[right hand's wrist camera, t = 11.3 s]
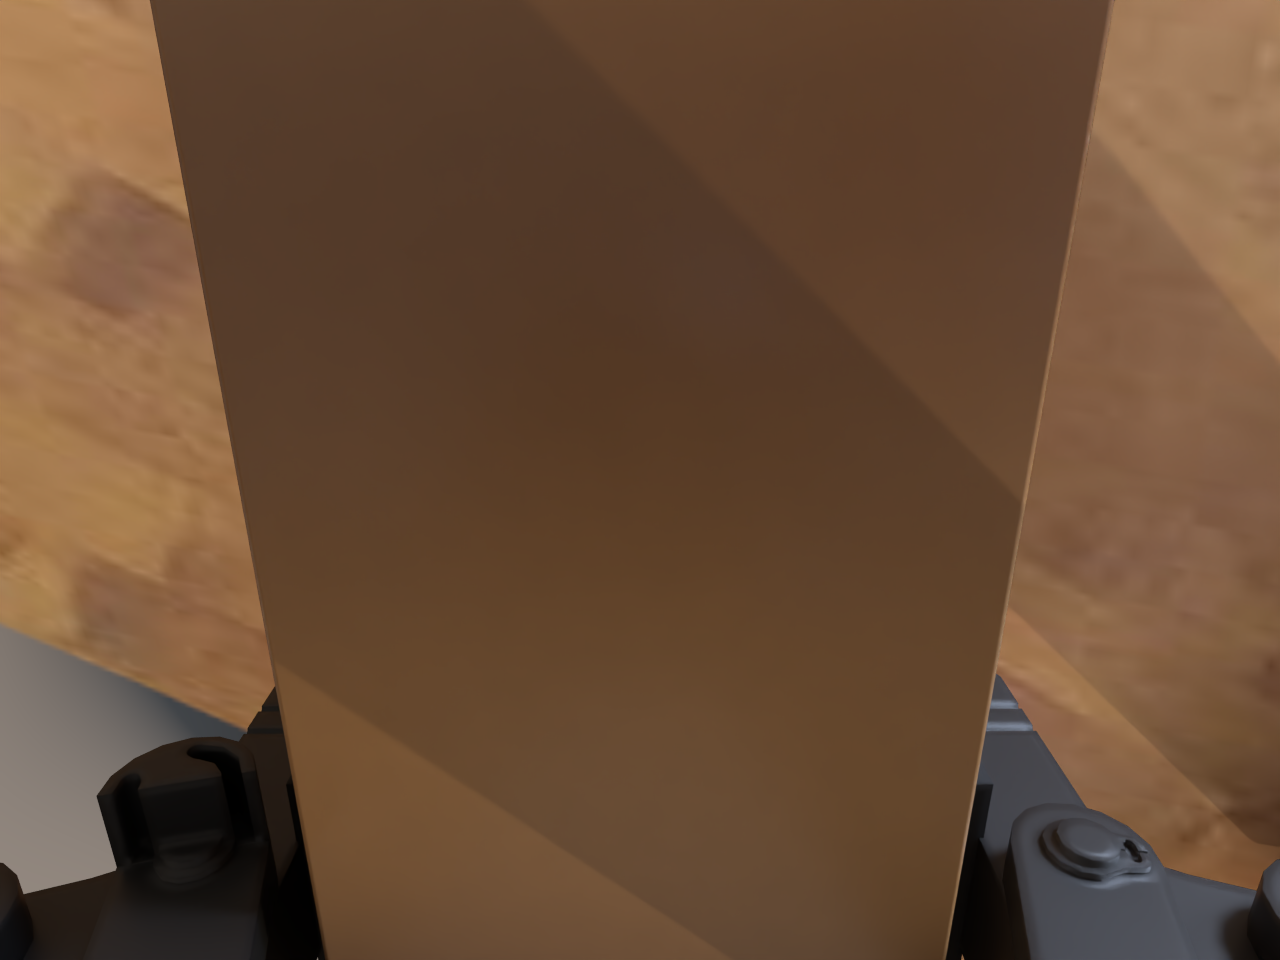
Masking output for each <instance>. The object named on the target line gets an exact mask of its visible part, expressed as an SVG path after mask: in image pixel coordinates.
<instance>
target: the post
mask: <svg viewBox="0 0 1280 960" xmlns="http://www.w3.org/2000/svg"><path fill="white" fill-rule="evenodd" d="M1114 1H1115V0H150V3H151V9H152V14H153V20H154V25H155V31H156V36H157V42H158V47H159V53H160V58H161V63H162V69H163V74H164V80H165V85H166V91H167V96H168V102H169V107H170V113H171V118H172V124H173V129H174V135H175V140H176V145H177V151H178V156H179V162H180V167H181V173H182V178H183V184H184V189H185V195H186V200H187V206H188V211H189V217H190V222H191V228H192V233H193V238H194V244H195V249H196V255H197V260H198V266H199V271H200V277H201V282H202V288H203V293H204V299H205V304H206V310H207V315H208V320H209V326H210V331H211V337H212V342H213V348H214V353H215V359H216V364H217V370H218V375H219V381H220V386H221V392H222V397H223V402H224V408H225V413H226V419H227V424H228V430H229V435H230V441H231V446H232V452H233V457H234V463H235V468H236V474H237V479H238V485H239V490H240V495H241V501H242V506H243V512H244V517H245V523H246V528H247V534H248V539H249V545H250V550H251V556H252V561H253V567H254V572H255V577H256V583H257V588H258V594H259V599H260V605H261V610H262V616H263V621H264V627H265V632H266V638H267V643H268V649H269V654H270V660H271V665H272V670H273V676H274V681H275V687H276V692H277V698H278V703H279V709H280V714H281V720H282V725H283V731H284V736H285V742H286V747H287V752H288V758H289V763H290V769H291V774H292V780H293V785H294V791H295V796H296V802H297V807H298V813H299V818H300V824H301V829H302V834H303V840H304V845H305V851H306V856H307V862H308V867H309V873H310V878H311V884H312V889H313V895H314V900H315V906H316V911H317V917H318V922H319V927H320V933H321V938H322V944H323V949H324V955H325V960H946V954H947V948H948V943H949V937H950V931H951V926H952V920H953V914H954V909H955V903H956V897H957V892H958V886H959V880H960V874H961V869H962V863H963V857H964V852H965V846H966V840H967V835H968V829H969V823H970V818H971V812H972V806H973V801H974V795H975V789H976V784H977V778H978V772H979V767H980V761H981V755H982V750H983V744H984V738H985V733H986V727H987V721H988V716H989V710H990V704H991V699H992V693H993V687H994V682H995V676H996V670H997V665H998V659H999V653H1000V647H1001V642H1002V636H1003V630H1004V625H1005V619H1006V613H1007V608H1008V602H1009V596H1010V591H1011V585H1012V579H1013V574H1014V568H1015V562H1016V557H1017V551H1018V545H1019V540H1020V534H1021V528H1022V523H1023V517H1024V511H1025V506H1026V500H1027V494H1028V489H1029V483H1030V477H1031V472H1032V466H1033V460H1034V455H1035V449H1036V443H1037V437H1038V432H1039V426H1040V420H1041V415H1042V409H1043V403H1044V398H1045V392H1046V386H1047V381H1048V375H1049V369H1050V364H1051V358H1052V352H1053V347H1054V341H1055V335H1056V330H1057V324H1058V318H1059V313H1060V307H1061V301H1062V296H1063V290H1064V284H1065V279H1066V273H1067V267H1068V262H1069V256H1070V250H1071V245H1072V239H1073V233H1074V228H1075V222H1076V216H1077V210H1078V205H1079V199H1080V193H1081V188H1082V182H1083V176H1084V171H1085V165H1086V159H1087V154H1088V148H1089V142H1090V137H1091V131H1092V125H1093V120H1094V114H1095V108H1096V103H1097V97H1098V91H1099V86H1100V80H1101V74H1102V69H1103V63H1104V57H1105V52H1106V46H1107V40H1108V35H1109V29H1110V23H1111V18H1112V12H1113V6H1114Z"/></svg>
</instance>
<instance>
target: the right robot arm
mask: <svg viewBox="0 0 1280 960" xmlns="http://www.w3.org/2000/svg"><path fill="white" fill-rule="evenodd" d="M97 799H98V803H99V806H100V810H101V813H102V817H103V820H104V824H105V827H106V831H107V834H108V838H109V841H110V844H111V848H112V852H113V855H114V859H115V862H116V866H117V868H116V871H113V872H110V873H107V874H103V875H100V876H97V877H94V878H90V879H86V880H82V881H78V882H73V883H69V884H65V885H61V886H57V887H52V888H48V889H44V890H40V891H36V892H31V893H27V894H23V891H22V889H21V886H20V883H19V880H18V877H17V875H16V874H15V873H14V872H13V871H12V870H11V869H9V868H8V867H7V866H6V865H5V864H4V863H0V960H317V957H318V960H325V955H324V949H323V944H322V938H321V933H320V927H319V922H318V917H317V911H316V906H315V900H314V895H313V889H312V884H311V878H310V873H309V867H308V862H307V856H306V851H305V845H304V840H303V834H302V829H301V824H300V818H299V813H298V807H297V802H296V796H295V791H294V785H293V780H292V774H291V769H290V763H289V758H288V752H287V747H286V742H285V736H284V731H283V725H282V720H281V714H280V709H279V703H278V698H277V692H276V687H274V689H273V690H272V692H271V693H270V695H269V696H268V698H267V699H266V701H265V702H264V704H263V705H262V711H261V712H258V713H257V715H256V716H255V718H254V719H253V721H252V722H251V724H250V725H249V727H248V732H247V734H244V735H243V736H242V738H241V739H240V741H239V742H238V741H234V740H230V739H226V738H222V737H199V738H189V739H186V740H182V741H178V742H174V743H170V744H166V745H162V746H160V747H158V748H156V749H154V750H152V751H150V752H147V753H145V754H143V755H141V756H139V757H137V758H135V759H133V760H132V761H131V762H129V763H128V764H126V765H125V766H124V767H123V768H121V769H120V770H119V771H117V772H116V773H115V774H113V775H112V776H111V777H110V778H109V780H108V781H107V782H106V784H105V785H104V787H103V788H102V789H101V791H100V792H99V793H98V795H97ZM962 955H963V957H964V960H1280V859H1277V860H1276V861H1275V862H1274V863H1273V864H1271V865H1270V866H1269V867H1268V868H1267V869H1266V870H1265V871H1264V872H1263V875H1262V878H1261V880H1260V883H1259V886H1258V889H1257V891H1256V890H1251V889H1247V888H1243V887H1239V886H1235V885H1230V884H1226V883H1222V882H1218V881H1213V880H1209V879H1205V878H1201V877H1196V876H1192V875H1188V874H1185V873H1182V872H1179V871H1175V870H1172V869H1169V868H1166V867H1163V865H1162V863H1161V862H1160V860H1159V859H1158V857H1157V856H1156V854H1155V852H1154V851H1153V849H1152V848H1151V846H1150V845H1149V844H1148V843H1147V842H1146V841H1144V840H1143V839H1142V838H1141V837H1140V836H1139V835H1137V834H1136V833H1135V832H1134V831H1133V830H1132V829H1130V828H1129V827H1128V826H1126V825H1124V824H1123V823H1121V822H1119V821H1117V820H1115V819H1113V818H1111V817H1109V816H1107V815H1105V814H1103V813H1102V812H1099V811H1095V810H1092V809H1088V808H1086V806H1085V805H1084V803H1083V802H1082V800H1081V799H1080V797H1079V796H1078V794H1077V793H1076V791H1075V790H1074V788H1073V786H1072V785H1071V783H1070V782H1069V780H1068V779H1067V777H1066V776H1065V774H1064V773H1063V771H1062V770H1061V768H1060V767H1059V765H1058V764H1057V762H1056V761H1055V759H1054V757H1053V756H1052V754H1051V753H1050V751H1049V750H1048V748H1047V747H1046V745H1045V744H1044V742H1043V741H1042V739H1041V738H1040V736H1039V735H1038V733H1037V732H1036V731H1033V729H1032V724H1031V722H1030V721H1029V719H1028V718H1027V716H1026V715H1025V713H1024V712H1023V710H1022V709H1019V708H1018V703H1017V701H1016V699H1015V698H1014V696H1013V695H1012V693H1011V692H1010V690H1009V689H1008V687H1007V686H1006V684H1005V683H1004V681H1003V680H1002V678H1001V677H1000V676H999V675H997V674H996V676H995V682H994V687H993V693H992V699H991V704H990V710H989V716H988V721H987V727H986V733H985V738H984V744H983V750H982V755H981V761H980V767H979V772H978V778H977V784H976V789H975V795H974V801H973V806H972V812H971V818H970V823H969V829H968V835H967V840H966V846H965V852H964V857H963V863H962V869H961V874H960V880H959V886H958V892H957V897H956V903H955V909H954V914H953V920H952V926H951V931H950V937H949V943H948V948H947V954H946V960H961V957H962Z"/></svg>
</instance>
